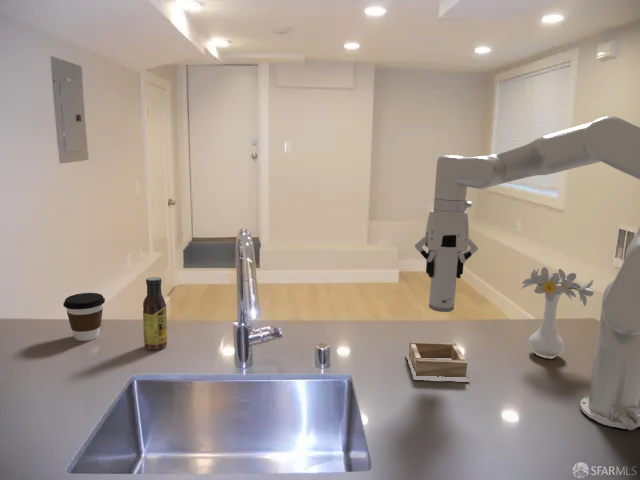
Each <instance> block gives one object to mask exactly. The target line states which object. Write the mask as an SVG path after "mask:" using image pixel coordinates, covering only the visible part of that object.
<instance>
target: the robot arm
mask: <svg viewBox="0 0 640 480" xmlns="http://www.w3.org/2000/svg"><path fill="white" fill-rule="evenodd" d="M600 162H601V163H603V164H606V165H607V166H610V167H612V168H613V169H616V170H617V171H620V172H622V173H624V174H627V175H629V176H631V177H632V178H635V179H637V180H640V126H637V125H636V124H634V123H631V122H630V121H627V120H625V119H623V118H620V117H617V116H611V115H609V116H603V117H600V118H597V119H595V120H594V121H592V122H588V123H585V124H584V123H583V124H581V125H578V126H574V127H571V128H567V129H563V130H561V131H556V132H554V133H553V132H552V133H550V134H546V135H543V136H540V137H538V138H535V139H534V140H533V141H530V142H529V143H527V144H525V145H522V146H519V147H516V148H512V149H507V150H506V151H502V152H499V153H494V154H490V155H480V156H471V157H466V156H462V155H451V154H449V155H447V154H445V155H440V156H439V157H438V158H437V160H436V173H435V182H434V183H435V184H434V185H435V186H434V198H433V199H434V200H433V209H431V210H430V211H429V213H428V218H427V222H426V227H425V228H426V230H425V234H424V235H425V236H424V237H422V238H421V239H420V240H419V241H417V243H415V244H414V248H415V249H416V250H417V251H418V253H420V254H421V256H422V257H423V258H424V259H425V260H426V266H425V273H426V274H427V275H428V277H429V278H430V279H431V278H432V277H433V270H434V262H433V258H434V256H435V254H436V252H437V251H439V249H440V247H441V244H442V238H443V236H451V235H456V247H457V249H456V250H457V252H458V266H457V278H456V279H461V277H462V276H461V275H463V274H464V273H463V272H464V264H466V261H468V260H469V258H471V257H472V255H474V253H475V252H478V250H479V248H478V246H477V245H476V244H475V243H474V242H473V241H472V240H471V239H470V238H469V237H470V235H469V234H470V233H469V228H470V227H469V217H468V212H467V209H468V208H472V202H471V201H467V189H468V187H469V188H473V189H478V190H480V189H481V190H483V189H487V188H491V187H493V186H498V185H501V184H506V183H509V182H514V181H517V180H522V179H526V178H531V177H535V176H547V175H552V174H557V173H560V172H564V171H568V170H572V169H576V168H580V167H581V168H582V167H584V166H589V165H593V164H597V163H600ZM458 234H459V237H458ZM423 246H425V247H426V248H427V250H428V251H427V252H426V251H425V249H424V248H423ZM601 300H602V302H601V310H600V319H599V325H598V326H599V327H598V332H597V336H596V337H597V338H596V343H595V344H596V345H595V350H594V351H595V352H594V357H593V358H594V359H593V365H592V371H591V372H592V373H591V378H590V384H589V392H588V396H586V397H582V399H581V400H580V401H581V402H579V407H580V406H581V408H582V409H583V410H584V411H586V412H587V413H589V414H590V415H592V416H594V415H593V414H591V413H590V412H594V413H596V414H598V415H600V416H602V417H605V418H608V419H609V420H610V421H611V422H619V423H622V424H623V425H624V426H625V427H626V428H627V429H628V431H634V430H636V429H635V427H636V426H640V418H638V417H640V414H639V412H640V407H639V402H640V227H639V228H638V229H637V232H636V234H635V235H634V237H633V238H632V240H631V242H630V243H629V245H628V246H627V248H626V252H625V257H624V260H623V262H622V264H621V267H620V269H619V270H618V273H617V274H616V276H615V279H613V280H612V281H610V283H609V284H608V285H606V288H605V290H604V292H603V295H602V299H601ZM586 398H588V399H586ZM587 401H588V402H587ZM582 402H585V403H586V404H583V403H582ZM594 417H595V416H594ZM633 429H634V430H633Z"/></svg>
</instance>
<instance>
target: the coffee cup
mask: <svg viewBox="0 0 640 480" xmlns="http://www.w3.org/2000/svg"><path fill="white" fill-rule="evenodd" d="M105 302H106V298H105V297H104V296H103V295H102V293H98V292H81V293H76V294H73V295H70V296H68V297H66V298H65V299H64V301H63V307H64V308H65V309H66V315H67V317H68V322H69V325H70V326H69V327H70V329H71V330H72V335H73V337H74V338H75V340H76V341H78V342H89V341H92V340H94V339H95V338H96V339H97V338H99V335H100V332H101V331H100V330H101V326H102V319H103V309H104V307H103V305H104V304H105Z"/></svg>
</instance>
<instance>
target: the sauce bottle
mask: <svg viewBox="0 0 640 480" xmlns="http://www.w3.org/2000/svg"><path fill="white" fill-rule="evenodd" d="M145 282H146V283H145V284H146V297H145V298H144V300H143V303H142V305H143V306H142V308H143V311H142V321H143V323H142V325H143V343H144V348H145V349H146V350H149V351H158V350H162V349H164V348H166V347H167V344H168V343H167V342H168V328H167V327H168V323H167V321H168V317H167V315H168V314H167V303H166V302H165V299H164V295H163V294H162V292H163V291H162V278H161V277H159V276H152V277H151V276H150V277H147V278H146V279H145Z"/></svg>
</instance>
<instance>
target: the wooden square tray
mask: <svg viewBox="0 0 640 480" xmlns="http://www.w3.org/2000/svg"><path fill="white" fill-rule="evenodd" d="M408 348H409V349H408V354H409V357H410V360H411V362H412V365H413V368H414V370H415V372H416V376H437V377H439V376H442V377H443V376H444V377H466V374H467V369H468V361H467V360H466V358H465V357H464V354H463V353H462V351H461V349H459V347H458V345H457V344H456V342H445V341H444V342H440V341H439V342H438V341H415V340H414V341H412V340H411V341H409V347H408ZM421 358H451V359H452V360H435V359H421Z"/></svg>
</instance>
